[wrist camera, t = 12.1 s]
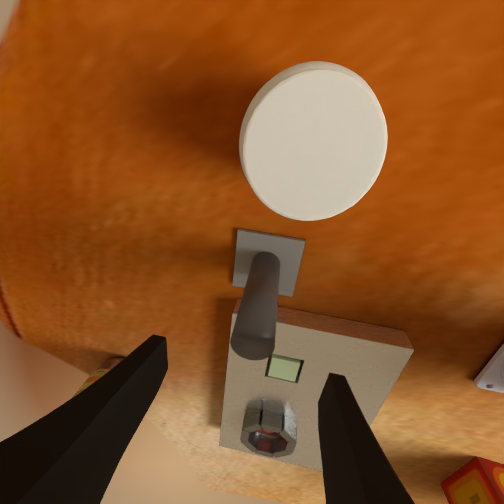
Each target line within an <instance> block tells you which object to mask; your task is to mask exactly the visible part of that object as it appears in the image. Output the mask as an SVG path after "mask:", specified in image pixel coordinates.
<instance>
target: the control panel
mask: <svg viewBox="0 0 504 504" xmlns="http://www.w3.org/2000/svg"><path fill="white" fill-rule="evenodd" d="M241 300H242V299H239V298H238V299H237V302H236V305H235V308H234V310H233V313H232V323H231V333H230V339H231V336H232V332H233V328H234V325H235V321H236V318H237V314H238V310H239V307H240V303H241ZM413 352H414V348H413V346H412V344H411V342H410V340H409V339H408V337H407V335H406V333H405V331H403V330H398V329H393V328H388V327H383V326H378V325H372V324H367V323H362V322H357V321H352V320H347V319H342V318H336V317H331V316H326V315H321V314H316V313H311V312H306V311H300V310H295V309H290V308H285V307H280V306H278V307H277V321H276V336H275V348H274V352H273V353H272V354H276V355H281V356H286V357H290V358H295V359H300V366H299V370H298V373H297V376H296V380H295V382H293V381H289V380H284V379H280V378H275V377H271V376H268V373H269V364H270V359H268V358H266V359H263V360H248V359H245V358H242V357H241V356H239V355H238V354H236V353H235V352H234V351H233V349H232V347H231V344H230V343H229V353H228V363H227V372H226V382H225V392H224V402H223V412H222V422H221V431H220V441H219V446H223V447H227V448H231V449H235V450H239V451H243V452H247V453H251V454H255V455H259V456H263V457H267V458H271V459H275V460H279V461H283V462H287V463H291V464H295V465H299V466H302V467H306V468H310V469H314V470H318V471H322V472H323V469H322V460H321V451H320V442H319V432H318V401H319V398H320V396H321V393H322V390H323V388H324V385H325V383H326V380H327V377H328V375H329V372H330V373H335V374H339V375H344V376H345V377H346V379H347V381H348V384H349V386H350V388H351V390H352V392H353V394H354V396H355V399H356V401H357V403H358V405H359V407H360V409H361V411H362V413H363V415H364V417H365V419H366V421H367V423H368V425H369V427H370V425H371V423H372V422H373V420H374V418H375V417H376V415H377V413H378V411H379V410H380V408H381V406H382V405H383V403H384V401H385V399H386V398H387V396H388V394H389V393H390V391H391V389H392V387H393V386H394V384H395V382H396V381H397V379H398V377H399V375H400V374H401V372H402V370H403V369H404V367H405V365H406V363H407V362H408V360H409V358H410V357H411V355H412V353H413ZM262 429H264V430H268V431H272V432H274V433H268V432H265V431H263V430H262Z"/></svg>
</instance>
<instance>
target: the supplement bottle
mask: <svg viewBox="0 0 504 504" xmlns="http://www.w3.org/2000/svg"><path fill="white" fill-rule="evenodd" d="M386 149H387V126H386V121H385V116H384V114H383V111H382V109H381V106H380V104H379V102H378V100H377V98H376V96H375V94H374V92H373V91H372V89H371V88H370V87H369V85H368V84H367V83H366V82H365V81H364V80H363V79H362V78H361V77H360V76H359V75H357V74H356V73H354V72H353V71H351V70H350V69H348V68H345V67H343V66H341V65H338V64H334V63H330V62H322V61H312V62H305V63H301V64H297V65H294V66H292V67H289V68H287V69H285V70H283V71H281V72H280V73H278V74H277V75H275V76H274V77H273V78H272V79H270V80H269V81H268V82H267V83H266V84H265V85H264V86H263V87H262V88H261V89H260V90H259V91H258V92H257V94H256V95H255V97H254V98H253V100H252V101H251V103H250V105H249V107H248V109H247V111H246V113H245V116H244V119H243V122H242V125H241V130H240V137H239V154H240V161H241V165H242V169H243V172H244V175H245V177H246V179H247V181H248V183H249V184H250V186H251V188H252V190H253V191H254V193H255V194H256V195H257V197H258V198H259V199H260V200H261V201H262V202H263V203H264V204H265V205H266V206H267V207H268V208H270V209H271V210H273V211H274V212H276V213H278V214H280V215H282V216H284V217H287V218H291V219H295V220H302V221H313V220H320V219H325V218H329V217H332V216H335V215H337V214H339V213H341V212H343V211H345V210H346V209H348V208H350V207H351V206H353V205H354V204H355V203H356V202H358V201H359V200H360V199H361V198H362V197H363V196H364V195H365V194H366V193H367V191H368V190H369V189H370V188H371V186H372V185H373V183H374V182H375V180H376V178H377V176H378V175H379V172H380V170H381V167H382V165H383V162H384V159H385V154H386Z"/></svg>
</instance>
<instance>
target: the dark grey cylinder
mask: <svg viewBox="0 0 504 504" xmlns="http://www.w3.org/2000/svg"><path fill="white" fill-rule="evenodd" d="M279 278H280V260H279V259H278V257H277V256H276V255H275V254H273V253H270V252H261V253H258V254H257V255H256V256H255V257H254V258H253V260H252V264H251V267H250V271H249V275H248V278H247V282H246V285H245V289H244V293H243V296H242V300H241V303H240V307H239V310H238V314H237V318H236V321H235V325H234V328H233V332H232V336H231V339H230V344H231V347H232V349H233V351H234V352H235V353H236V354H238V355H239V356H241V357H242V358H245V359H248V360H263V359H266V358H268V357H269V356H270V355H271V354H272V353H273V352H274V348H275V336H276V321H277V307H278V292H279Z"/></svg>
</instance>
